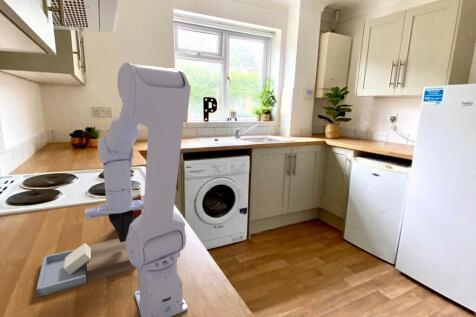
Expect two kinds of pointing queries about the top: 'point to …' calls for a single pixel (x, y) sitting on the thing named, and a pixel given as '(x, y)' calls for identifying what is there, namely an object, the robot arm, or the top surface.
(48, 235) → the top surface
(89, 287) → the top surface
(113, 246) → the walnut board
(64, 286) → the tray
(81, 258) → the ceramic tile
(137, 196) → the canned food
